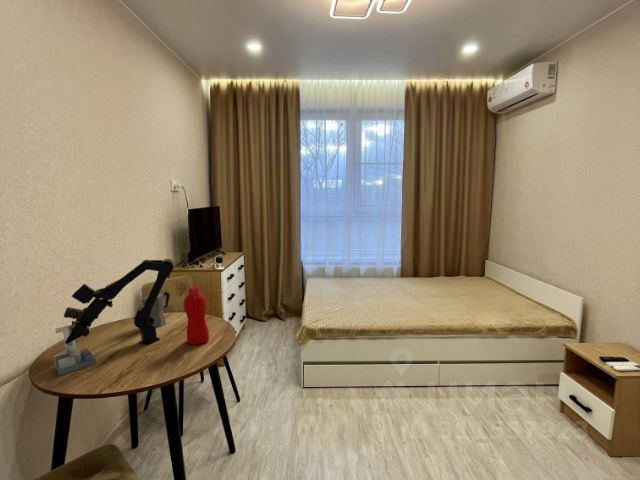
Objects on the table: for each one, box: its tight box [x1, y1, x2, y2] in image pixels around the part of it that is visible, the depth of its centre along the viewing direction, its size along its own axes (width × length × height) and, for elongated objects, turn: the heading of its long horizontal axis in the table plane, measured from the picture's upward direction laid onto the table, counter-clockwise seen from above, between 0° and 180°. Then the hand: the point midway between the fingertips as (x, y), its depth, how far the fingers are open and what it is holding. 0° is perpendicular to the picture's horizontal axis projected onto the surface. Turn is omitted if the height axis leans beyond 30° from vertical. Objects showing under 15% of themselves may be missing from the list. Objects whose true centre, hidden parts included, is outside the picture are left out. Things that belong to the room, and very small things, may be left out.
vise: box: [53, 348, 97, 376], centre depth 137 cm, size 12×10×5 cm
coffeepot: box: [140, 291, 171, 329], centre depth 178 cm, size 15×9×18 cm, turn 147°
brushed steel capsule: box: [55, 324, 78, 356], centre depth 144 cm, size 6×4×12 cm, turn 124°
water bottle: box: [183, 286, 210, 346], centre depth 154 cm, size 9×11×25 cm
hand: (65, 341), depth 144 cm, fingers closed on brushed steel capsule, 4 cm apart
